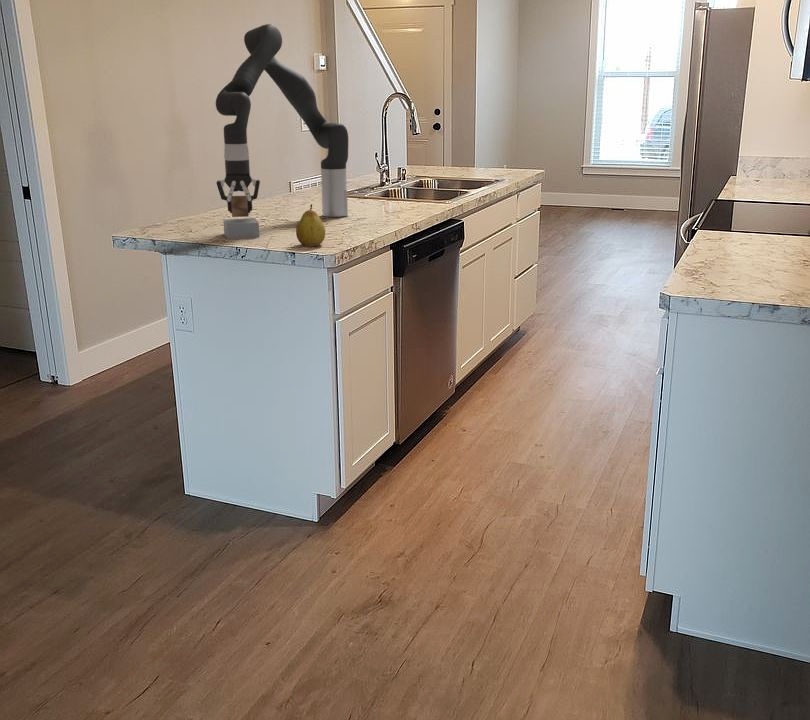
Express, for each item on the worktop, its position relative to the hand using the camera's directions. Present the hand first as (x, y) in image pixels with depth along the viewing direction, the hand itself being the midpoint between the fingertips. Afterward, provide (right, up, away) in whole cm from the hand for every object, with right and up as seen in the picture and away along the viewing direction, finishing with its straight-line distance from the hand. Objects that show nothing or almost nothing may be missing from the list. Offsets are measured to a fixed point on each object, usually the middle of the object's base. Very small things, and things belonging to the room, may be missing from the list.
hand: (240, 212), depth 269 cm
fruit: (+24, -13, -15) cm, 31 cm away
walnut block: (0, -1, 0) cm, 1 cm away
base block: (0, -7, +2) cm, 8 cm away
